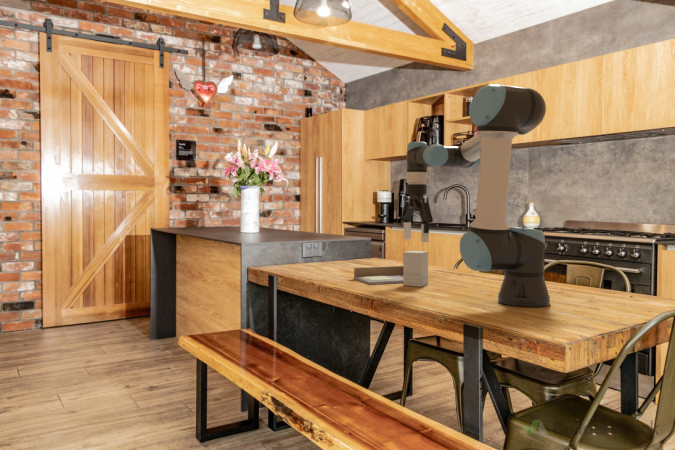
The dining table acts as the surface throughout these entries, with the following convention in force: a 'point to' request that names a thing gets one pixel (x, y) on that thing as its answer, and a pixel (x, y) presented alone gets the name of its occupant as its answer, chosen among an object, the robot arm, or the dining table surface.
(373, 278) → the pad
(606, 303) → the dining table surface
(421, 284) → the supplement box
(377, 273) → the brown tray
